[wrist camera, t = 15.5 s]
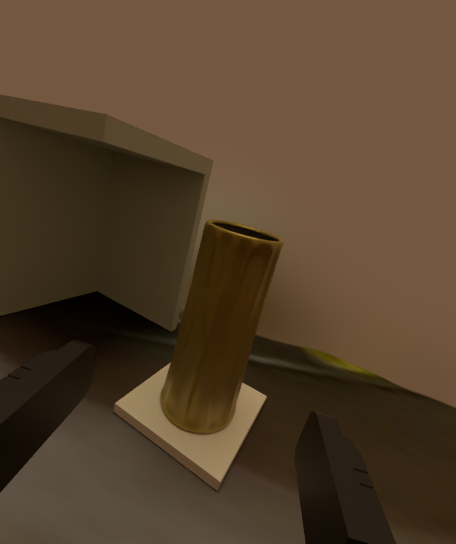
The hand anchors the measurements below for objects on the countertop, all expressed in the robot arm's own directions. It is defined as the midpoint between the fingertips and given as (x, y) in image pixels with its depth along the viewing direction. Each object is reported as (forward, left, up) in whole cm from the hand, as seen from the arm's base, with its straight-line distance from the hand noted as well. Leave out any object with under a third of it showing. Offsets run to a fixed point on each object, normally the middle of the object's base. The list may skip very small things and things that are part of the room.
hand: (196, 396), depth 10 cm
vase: (-3, +9, -9) cm, 14 cm away
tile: (-3, +9, -10) cm, 14 cm away
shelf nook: (-19, +11, -10) cm, 24 cm away
